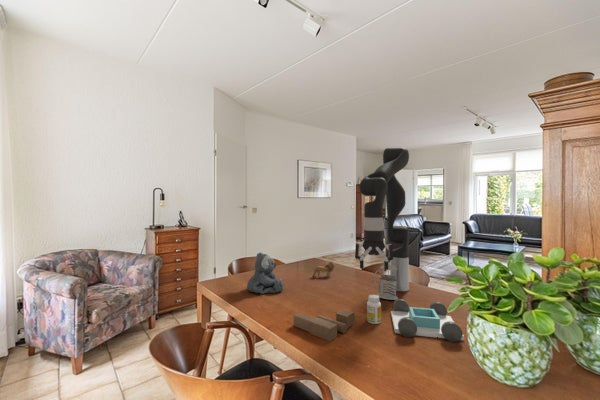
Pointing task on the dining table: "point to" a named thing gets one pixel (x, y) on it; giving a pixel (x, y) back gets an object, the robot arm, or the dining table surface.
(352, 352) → the dining table surface
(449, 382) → the dining table surface
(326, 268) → the lion figurine
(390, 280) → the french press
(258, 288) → the koala plush
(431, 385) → the dining table surface
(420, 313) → the chassis
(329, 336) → the wooden block set
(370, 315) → the supplement bottle
